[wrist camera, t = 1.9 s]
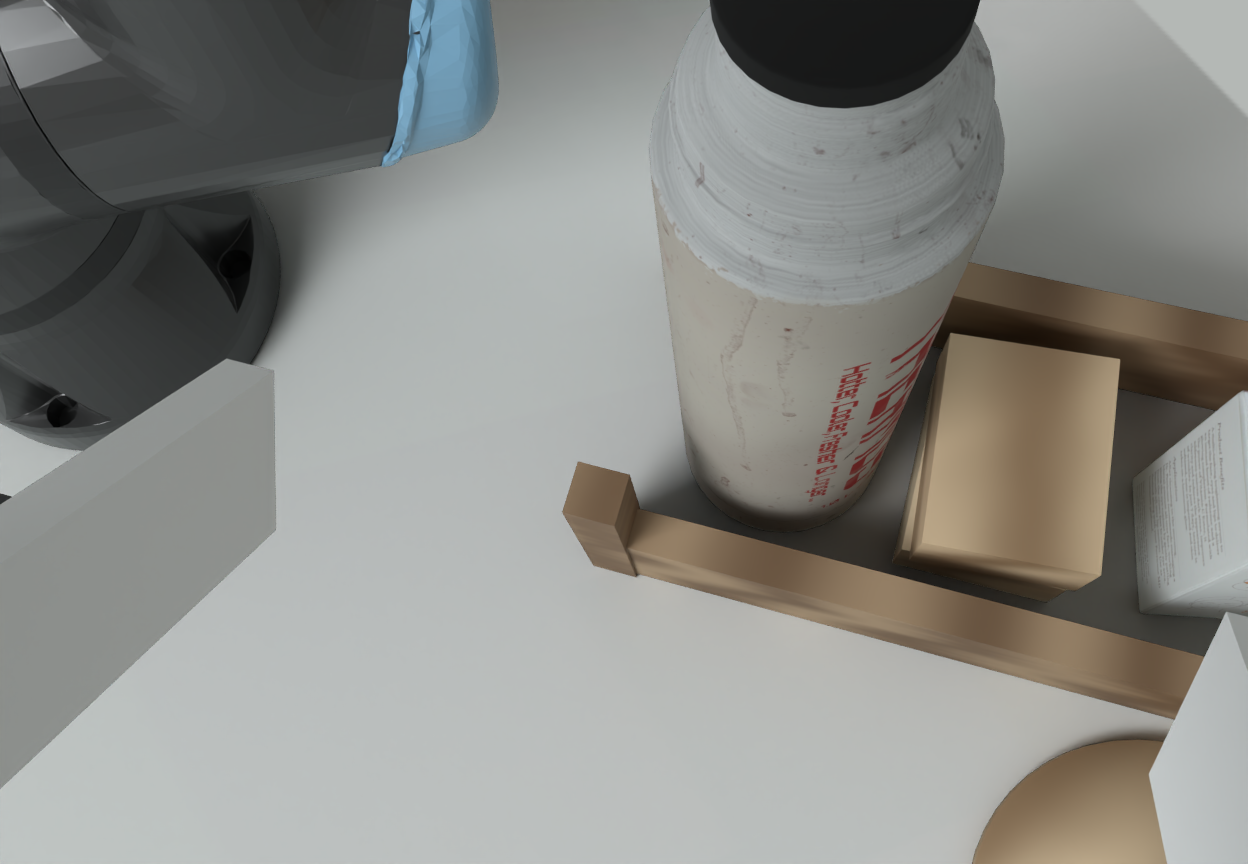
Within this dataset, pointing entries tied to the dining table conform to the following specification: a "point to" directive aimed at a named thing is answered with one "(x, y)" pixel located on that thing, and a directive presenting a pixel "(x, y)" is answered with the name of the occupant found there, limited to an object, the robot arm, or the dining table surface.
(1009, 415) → the upper offcut
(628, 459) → the dining table surface
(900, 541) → the lower offcut
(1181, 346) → the rack
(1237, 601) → the small box
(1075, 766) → the coaster
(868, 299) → the thermos bottle
